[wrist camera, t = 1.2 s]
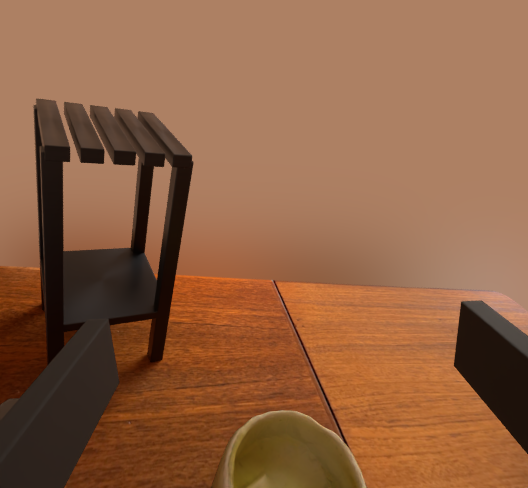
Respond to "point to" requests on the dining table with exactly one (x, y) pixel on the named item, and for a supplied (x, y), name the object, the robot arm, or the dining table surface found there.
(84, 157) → the rack
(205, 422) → the dining table surface
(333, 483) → the mug
